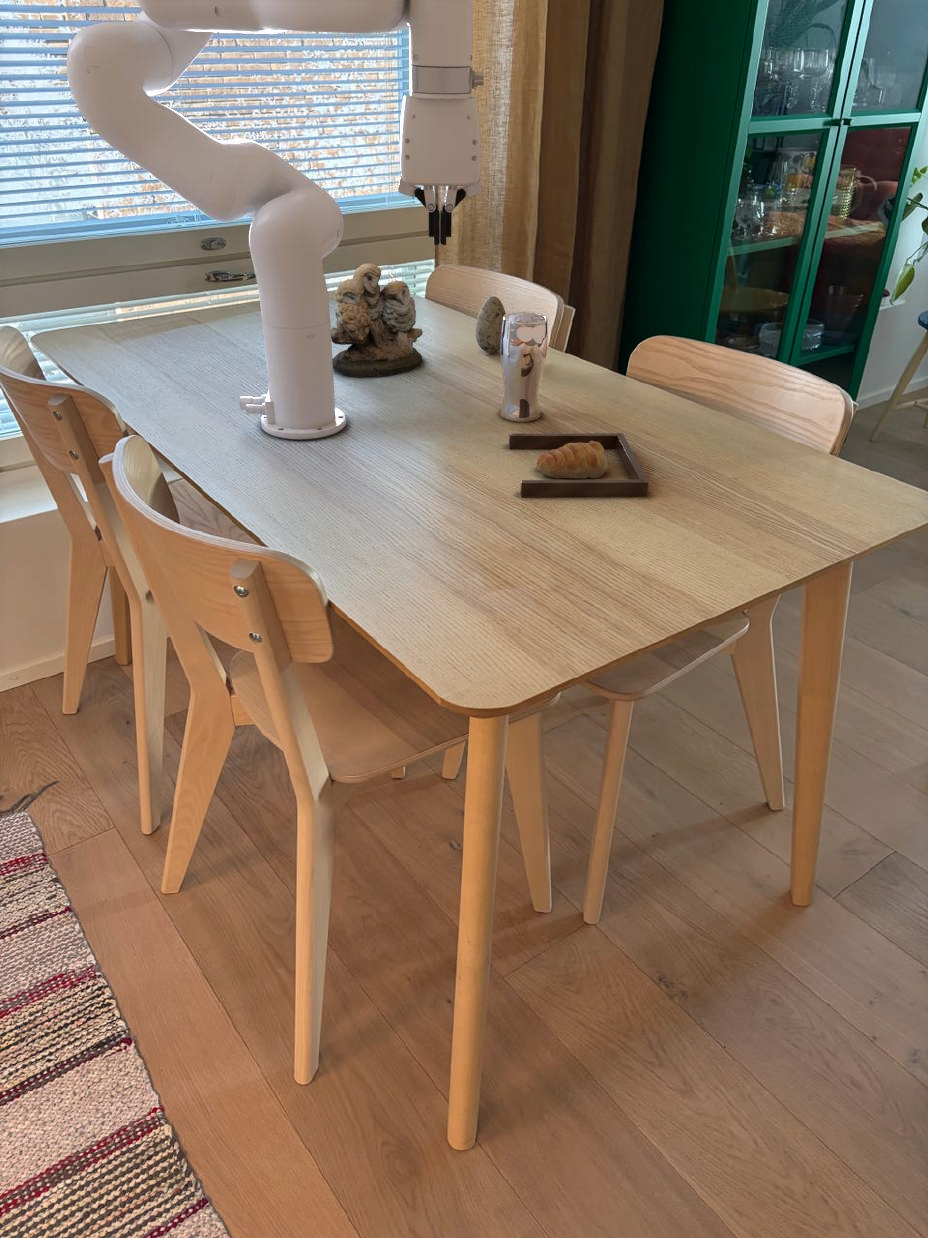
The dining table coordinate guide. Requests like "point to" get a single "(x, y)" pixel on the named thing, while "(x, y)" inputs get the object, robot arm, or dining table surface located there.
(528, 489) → the corral
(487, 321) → the decorative egg
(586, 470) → the pastry
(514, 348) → the beer glass
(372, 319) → the owl figurine
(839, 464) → the dining table surface
